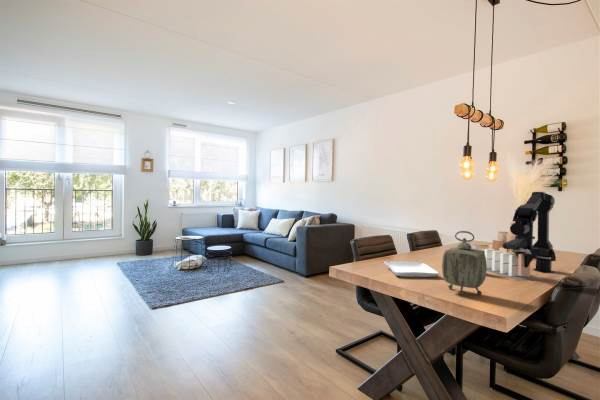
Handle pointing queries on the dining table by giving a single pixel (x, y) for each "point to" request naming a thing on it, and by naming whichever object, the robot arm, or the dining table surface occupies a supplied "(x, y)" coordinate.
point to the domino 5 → (522, 266)
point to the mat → (512, 276)
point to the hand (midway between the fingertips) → (524, 267)
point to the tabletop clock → (464, 266)
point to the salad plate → (411, 269)
